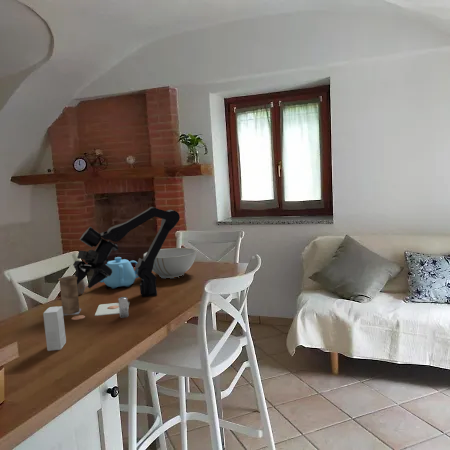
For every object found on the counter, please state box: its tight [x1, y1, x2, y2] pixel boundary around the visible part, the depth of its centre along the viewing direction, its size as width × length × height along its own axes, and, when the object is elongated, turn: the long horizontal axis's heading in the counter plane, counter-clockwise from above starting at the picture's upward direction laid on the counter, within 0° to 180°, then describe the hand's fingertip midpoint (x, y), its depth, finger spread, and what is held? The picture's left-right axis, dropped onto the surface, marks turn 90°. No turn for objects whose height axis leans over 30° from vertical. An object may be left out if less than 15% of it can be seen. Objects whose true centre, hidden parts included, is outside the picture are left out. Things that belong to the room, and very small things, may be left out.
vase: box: [72, 274, 86, 296], centre depth 199 cm, size 7×7×9 cm
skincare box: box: [42, 305, 67, 352], centre depth 137 cm, size 6×4×12 cm
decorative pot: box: [99, 256, 140, 290], centre depth 211 cm, size 16×16×14 cm
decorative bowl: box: [143, 247, 198, 279], centre depth 226 cm, size 27×27×12 cm
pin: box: [118, 296, 130, 319], centre depth 163 cm, size 3×3×7 cm
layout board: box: [63, 301, 131, 321], centre depth 172 cm, size 26×16×1 cm, turn 99°
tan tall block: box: [58, 275, 81, 316], centre depth 172 cm, size 5×5×14 cm
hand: (81, 286), depth 175 cm, fingers open, 9 cm apart
